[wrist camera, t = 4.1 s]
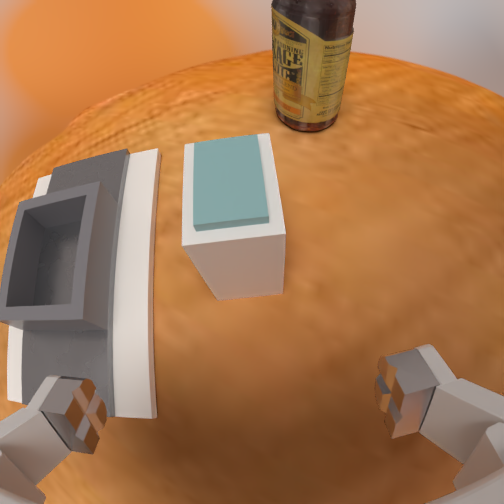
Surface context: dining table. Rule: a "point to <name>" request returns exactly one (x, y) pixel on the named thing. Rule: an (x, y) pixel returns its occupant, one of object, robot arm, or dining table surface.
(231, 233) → the module block
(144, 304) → the rail holder
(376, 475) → the dining table surface
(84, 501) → the dining table surface
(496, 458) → the robot arm
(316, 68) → the sauce bottle
